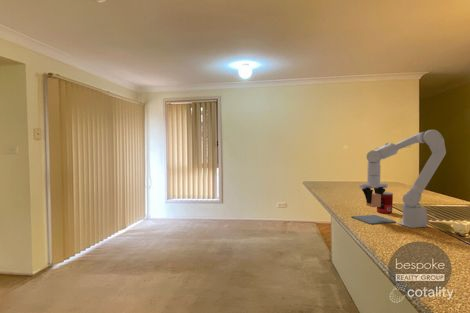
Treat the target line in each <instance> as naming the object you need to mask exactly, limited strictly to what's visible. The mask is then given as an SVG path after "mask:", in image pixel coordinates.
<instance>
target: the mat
mask: <svg viewBox="0 0 470 313" xmlns="http://www.w3.org/2000/svg"><path fill="white" fill-rule="evenodd" d="M351 219H355V220H357V221H360V222H362V223H365V224H367V225H370V224H371V225H382V224H381V223H384V224H395V223H397V221H396V220H392V219H389V218H386V217H383V216H380V215H377V214H366V215H353V216H351Z"/></svg>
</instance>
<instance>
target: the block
mask: <svg viewBox="0 0 470 313" xmlns="http://www.w3.org/2000/svg"><path fill="white" fill-rule="evenodd" d="M365 201H366V200H365ZM365 205H366V206H367V207H370V208H377V207H381V194H376V193H375V192H372V197H371V204H369V203H367V201H366V203H365Z"/></svg>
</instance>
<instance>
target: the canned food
mask: <svg viewBox="0 0 470 313" xmlns="http://www.w3.org/2000/svg"><path fill="white" fill-rule="evenodd" d="M393 197H394V194H393V192H392V191H385V192H384V193H383V195H382V197H381V207H376V212H377V213H379V214H382V213H383V215H389V214H390V215H391V214H392V213H393V205H394V204H393V201H394V198H393Z"/></svg>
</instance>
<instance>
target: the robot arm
mask: <svg viewBox="0 0 470 313" xmlns="http://www.w3.org/2000/svg"><path fill="white" fill-rule="evenodd" d="M425 143H426V145H427V146H428V147H429V149H430V151H431V155H430V156H429V158H428V159H427V161H426V163H425V164H424V166H423V168H422V170H421V171H420V172H419V175H418V176H417V178H416V180H415V182H414V184H412V186H411V188H410V189H409V190H408V191H407V192H406V193H405V194H403V196H402V202H403V204H402V221H401V222H397V224H398V225H401V226H404V227H407V228H409V229H412V228H413V229H415V228H416V229H417V228H427V227H429V225H428V212H427V208H426V207H425V206H423V205H421V203H420V201H421V200H422V194H423V193H424V191H425V189H426V187H427V186H428V184H429V183H430V180H432V177H433V175H434V174H435V173H436V171H437V169H438V168H439V166H440V164H441V162H442V161H443V159H444V157H445V156H446V154H447V150H446V144H445V138H444V137H443V135H442V134H441V132H440V131H438V130H436V129H428V130H426V131H422V132H418V133H416V134H414V135H413V134H412V135H411V136H409V137H406V138H405V139H402V140H401V141H399V142H396V143H393V142H386V143H384V145H383V146H380V147H376V148H375V150H373V149H372V150H370V151H368V152H367V154H366V160H367V174H366V175H367V176H366V177H367V178H366V179H367V181H366V182H367V183H361V184H359V189H361V191H362V192H363V194H364V197H365V201H367V203H369V204H371V197H372V193H376V194H381V197H382V195H383V193H384V192H386V189H387V188H388V183H381V160H385V159H388V158H389V157H392V156H395V155H397V154H398V151H399V150H402V149H404V148H406V147H409V146H411V145H414V144H425Z"/></svg>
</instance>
